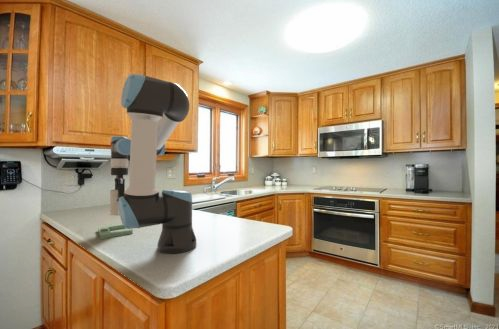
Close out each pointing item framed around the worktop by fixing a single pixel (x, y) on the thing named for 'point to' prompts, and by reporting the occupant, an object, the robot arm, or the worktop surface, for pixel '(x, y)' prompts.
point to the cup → (114, 202)
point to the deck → (106, 233)
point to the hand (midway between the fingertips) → (119, 212)
